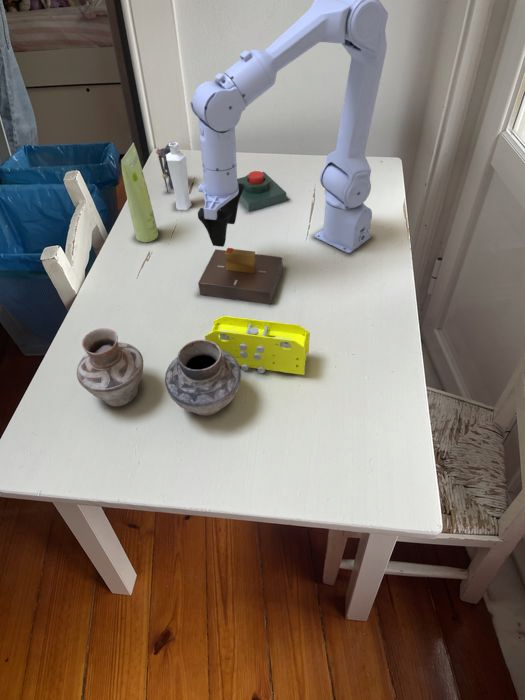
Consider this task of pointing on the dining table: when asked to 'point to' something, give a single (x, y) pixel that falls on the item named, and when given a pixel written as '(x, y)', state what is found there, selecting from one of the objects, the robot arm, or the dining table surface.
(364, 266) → the dining table surface
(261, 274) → the knob panel
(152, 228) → the tube
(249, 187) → the box
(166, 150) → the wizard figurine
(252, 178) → the button
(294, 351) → the yellow toy chassis
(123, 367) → the twin painted vases
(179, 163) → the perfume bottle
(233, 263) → the wooden block
